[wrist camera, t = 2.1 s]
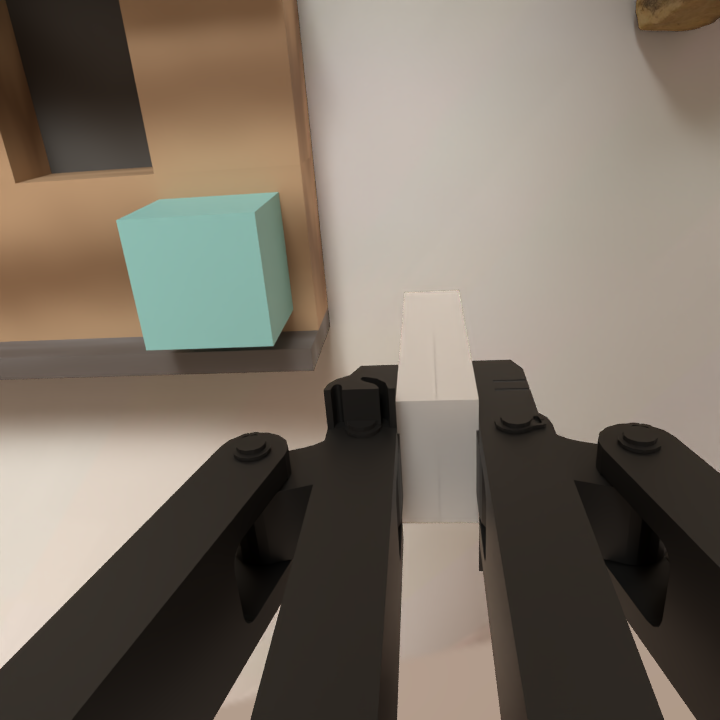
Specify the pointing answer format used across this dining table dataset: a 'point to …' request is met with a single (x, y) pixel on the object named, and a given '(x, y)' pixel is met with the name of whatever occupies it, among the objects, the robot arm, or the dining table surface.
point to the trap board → (143, 170)
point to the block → (208, 271)
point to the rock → (676, 14)
